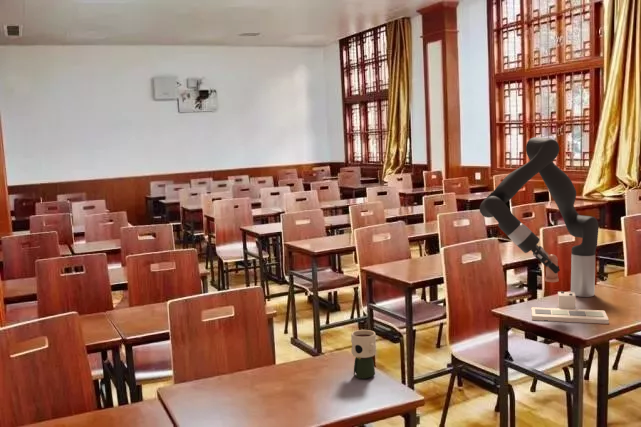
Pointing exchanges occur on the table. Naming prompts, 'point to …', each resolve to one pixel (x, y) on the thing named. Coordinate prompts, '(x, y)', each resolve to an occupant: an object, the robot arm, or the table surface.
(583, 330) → the table surface
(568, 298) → the die
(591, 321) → the game board
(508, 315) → the table surface
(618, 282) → the table surface
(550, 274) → the pawn
